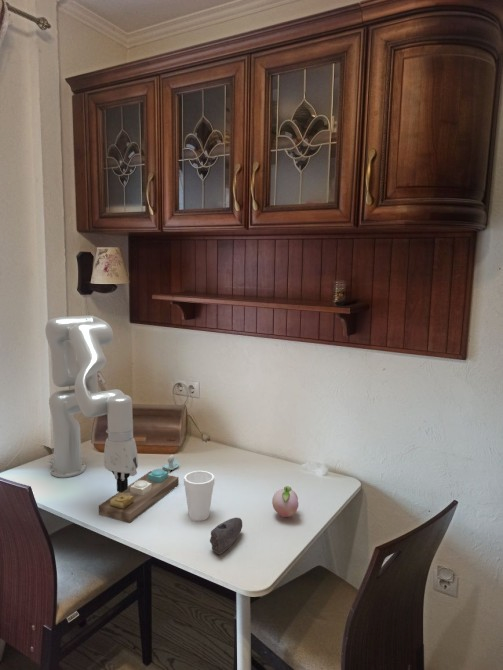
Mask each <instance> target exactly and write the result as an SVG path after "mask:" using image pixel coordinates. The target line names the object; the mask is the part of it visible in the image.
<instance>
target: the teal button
mask: <svg viewBox="0 0 503 670" xmlns="http://www.w3.org/2000/svg"><path fill="white" fill-rule="evenodd" d="M168 475H169V471H164V470H162V469H160V468H156V469H154V470H152V472H151V473H150V474H148V481H152V482H157V483H161V482H163V481H164V480H166V479H167V478H168Z"/></svg>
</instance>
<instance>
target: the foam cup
mask: <svg viewBox="0 0 503 670" xmlns="http://www.w3.org/2000/svg"><path fill="white" fill-rule="evenodd" d="M183 485H184V489H185V490H184V491H185V497H186V504H187V512H188V517H189V520H192V521H196V522H202V521H205V520H207V519H208V518H209V516H210V514H211V513H210V511H211V505H212V497H213V491H214V485H215V475H214V474H213V473H212V472H210V471H206V470H194V471H190V472H188V473H186V474H185V475H184V477H183Z"/></svg>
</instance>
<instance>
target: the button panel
mask: <svg viewBox="0 0 503 670" xmlns="http://www.w3.org/2000/svg"><path fill="white" fill-rule="evenodd" d="M152 471H153V470H152ZM152 471H147V473H145V474H144V475H142V476H141V477H140V478H138V479H136V480H135V481H134V482H132V483H130V484H128V489H127V490H125V491H124V492H122V493H127V494H129V495H130V496H133V504H131V505H130V506H128V507H127V508H126V509H124V510H122V509H118V508H115V507H111V503H110V500H111V499H113V498H114V497H115V496H116V495H117V494H120V493H121V492H117V493H115V494H114V495H112V496H111V497H109V498H108V499H106V500H105V501H103V502H102V503H100V504H98V515H100V516H104V517H107V518H110V519H114V520H117V521H120V522H125V523H127V524H128V523H129V524H130V523H132V522H134V521H135V520H136V519H137V518H139V517H140V516H141V515H142V514H143V513H145V512H147V511H148V510H149V509H150V508H151V507H153V506H154V505H155V504H156V503H158V502H159V501H161V499H163V498H164V497H165V496H167V495H168V494H169V493H170V492H172V491H173V490H175V489H176V488H177V487H179V485H180V483H179V480H180V479H179V477H178V476H175V475H170V474H168V478H167V479H166V480H164V481H163V482H161V483H157V482H152V481H148V474H150V473H151V472H152ZM140 480H144V481H147V482H148V483H152V490H150V491H149V492H148V493H146V494H145V495H144V496H141V495H137V494H133V493H130V486H132V485H133V484H134V483H135V482H137V481H140ZM175 487H176V488H175Z"/></svg>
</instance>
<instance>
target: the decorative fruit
mask: <svg viewBox="0 0 503 670" xmlns="http://www.w3.org/2000/svg"><path fill="white" fill-rule="evenodd" d="M271 504H272V508H273V510H274V511H275V512H276V514H278V516H281V517H283V518H289V517H293V516H294V515H295V514H296V513H297V510H298V509H299V497H298V495H297V493H296V491H295V490H293V489H292V487H291V486H288V485H287V486H284V487H283V488H281V489H279V490H277V491H276V492H274V494H273V496H272V501H271Z"/></svg>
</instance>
